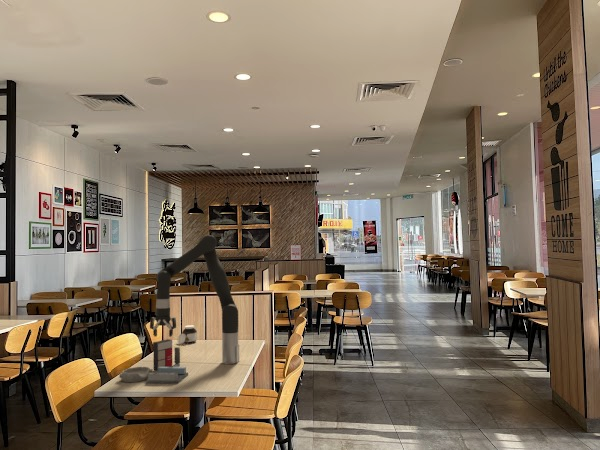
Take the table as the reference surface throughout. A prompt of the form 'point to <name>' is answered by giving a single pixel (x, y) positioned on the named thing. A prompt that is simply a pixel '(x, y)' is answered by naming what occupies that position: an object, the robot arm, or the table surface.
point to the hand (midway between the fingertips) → (163, 336)
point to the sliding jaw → (175, 367)
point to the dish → (135, 374)
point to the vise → (165, 378)
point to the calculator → (162, 354)
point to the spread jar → (188, 335)
